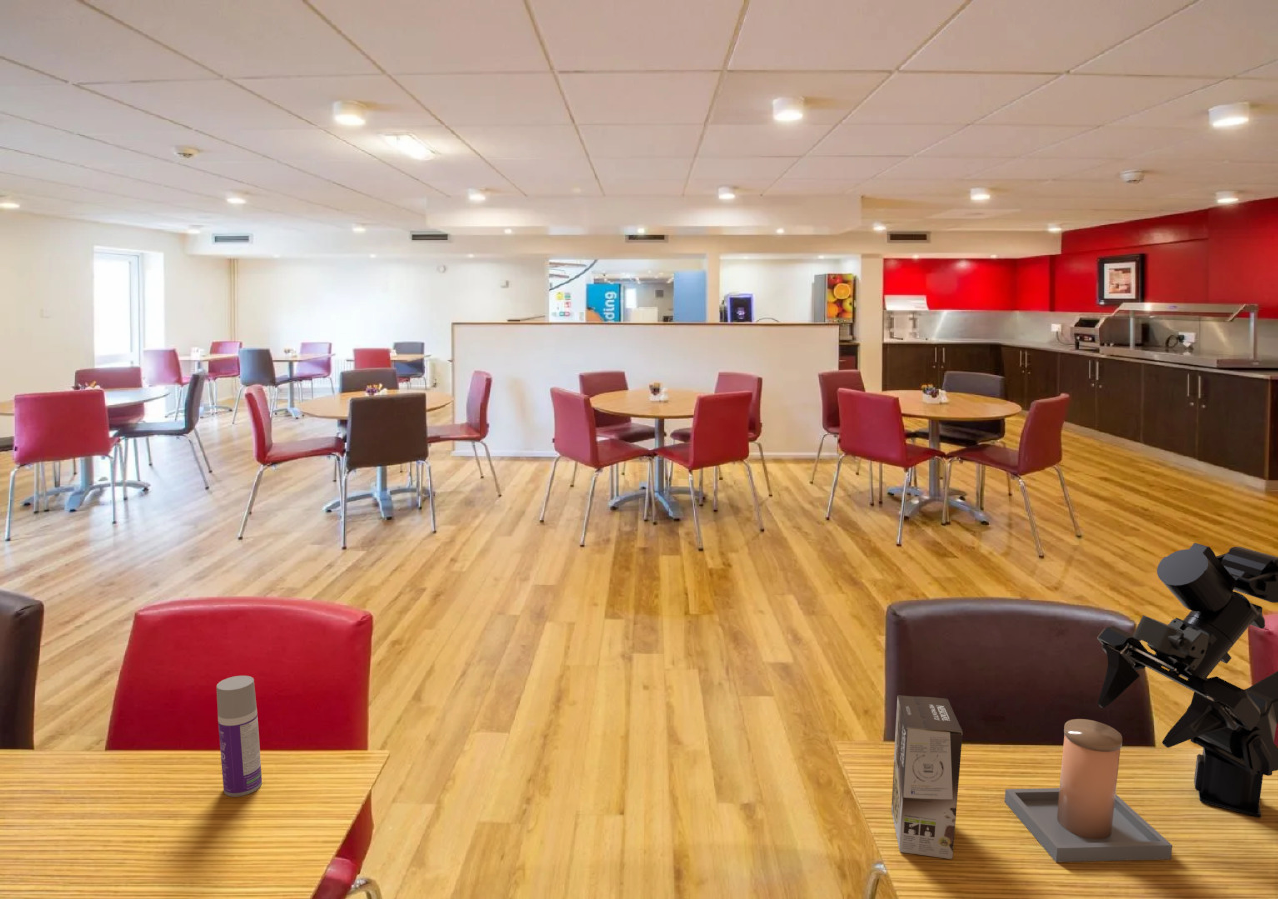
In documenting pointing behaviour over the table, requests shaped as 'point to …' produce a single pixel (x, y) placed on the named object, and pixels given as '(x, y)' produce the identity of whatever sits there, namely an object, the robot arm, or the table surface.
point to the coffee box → (926, 775)
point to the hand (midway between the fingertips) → (1131, 725)
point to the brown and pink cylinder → (1088, 778)
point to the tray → (1124, 843)
